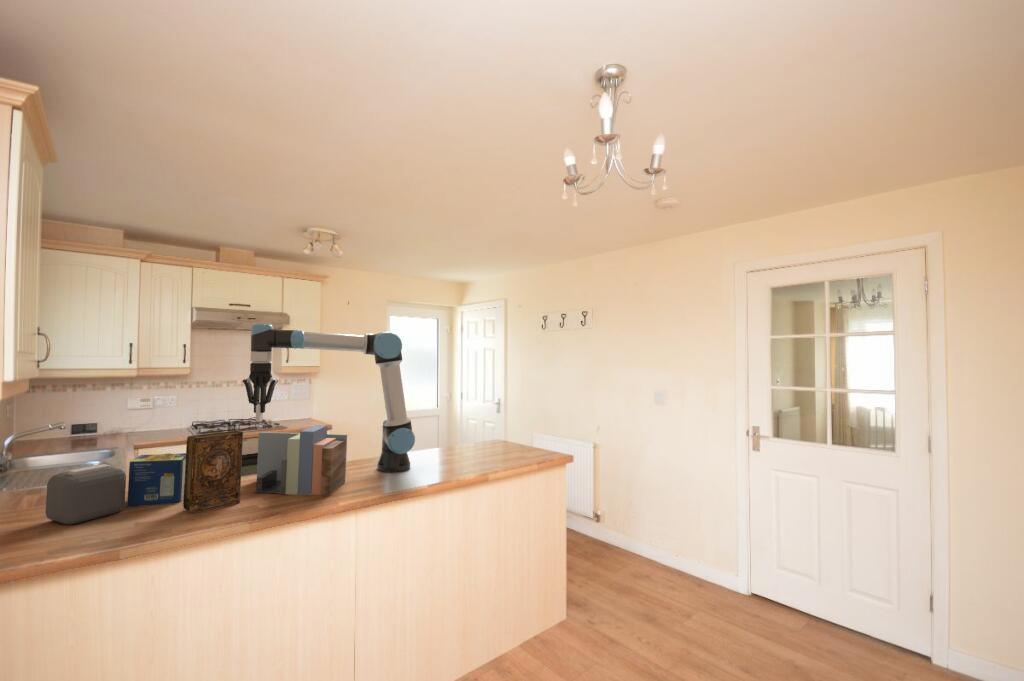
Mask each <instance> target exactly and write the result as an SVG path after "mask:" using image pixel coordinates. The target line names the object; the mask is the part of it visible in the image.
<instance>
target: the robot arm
mask: <svg viewBox="0 0 1024 681" xmlns="http://www.w3.org/2000/svg"><path fill="white" fill-rule="evenodd" d="M402 342H403V341H402V340H401V338H400V336H399V335H398V334H397V333H395V332H392V331H383V332H377V333H365V334H364V335H360V334H359V335H358V334H348V333H347V334H346V333H345V334H344V333H333V332H332V333H329V332H316V331H315V332H314V331H312V332H311V331H304V330H301V329H300V330H298V329H274V327H273V325H272V324H270V323H269V324H268V323H267V324H265V323H255V324H253V325H252V326H251V334H250V362H251V363H249V366H250V367H249V372H250V373H249V375H248V377H247V378H246V379H245V378H244V379H243V380H242V383H243V384H244V386H245V389H246V397H247V400H248V403H249V404H252V405H253V413H255V422H256V423H257V422H259V423H260V422H262V421H263V419H264V418H263V416H264V413H265V412H266V405H267V404H270V403H271V401H272V398H273V393H274V390H275V386H276V385H277V383H278V379H275V378H273V375H272V363H271V362H272V357H273V356H272V354H273V349H277V348H278V349H294V350H296V349H299V350H300V349H301V350H302V349H305V350H308V349H309V350H322V351H323V350H324V351H337V352H338V351H341V352H342V351H343V352H360V353H363V354H364V355H372V356H374V361H375V365H377V367H378V368H379V371H380V378H381V379H380V380H381V385H382V386H381V387H382V392H383V393H382V394H383V398H384V399H383V400H384V408H385V414H386V419H385V420H384V421H383V422H382V425H381V426H382V427H381V428H382V433H381V434H382V438H381V439H382V440H381V453H380V456H379V458H378V461H377V466H376V469H377V471H380V472H384V473H398V472H399V473H400V472H406V471H408V470H410V469H411V461H410V458H409V454H408V452H409V451H411V450H412V448H413V447H414V446H415V442H416V436H415V433H414V432H413V428H412V427H413V426H412V421H411V419H410V418H409V417H408V416H407V408H406V401H405V394H404V387H403V379H402V373H401V371H402V370H401V363H402V362H403V354H402V353H403V352H402V351H403V350H402V349H403V343H402ZM252 384H253V386H252ZM268 384H269V385H268ZM267 387H268V389H267Z"/></svg>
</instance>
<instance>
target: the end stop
mask: <svg viewBox="0 0 1024 681" xmlns="http://www.w3.org/2000/svg"><path fill="white" fill-rule="evenodd" d="M345 450H346V440H336V441H334V442H333V443H331V444H329V445H327V446H326V447H324V448H322V469H321V493H320V497H321V496H322V497H330V496H332V495H333V494H334V493H335V492H336V491H337V490H338V489H339V488H341V487H342V486H343V485H344V484H345V483H344V474H345Z"/></svg>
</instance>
